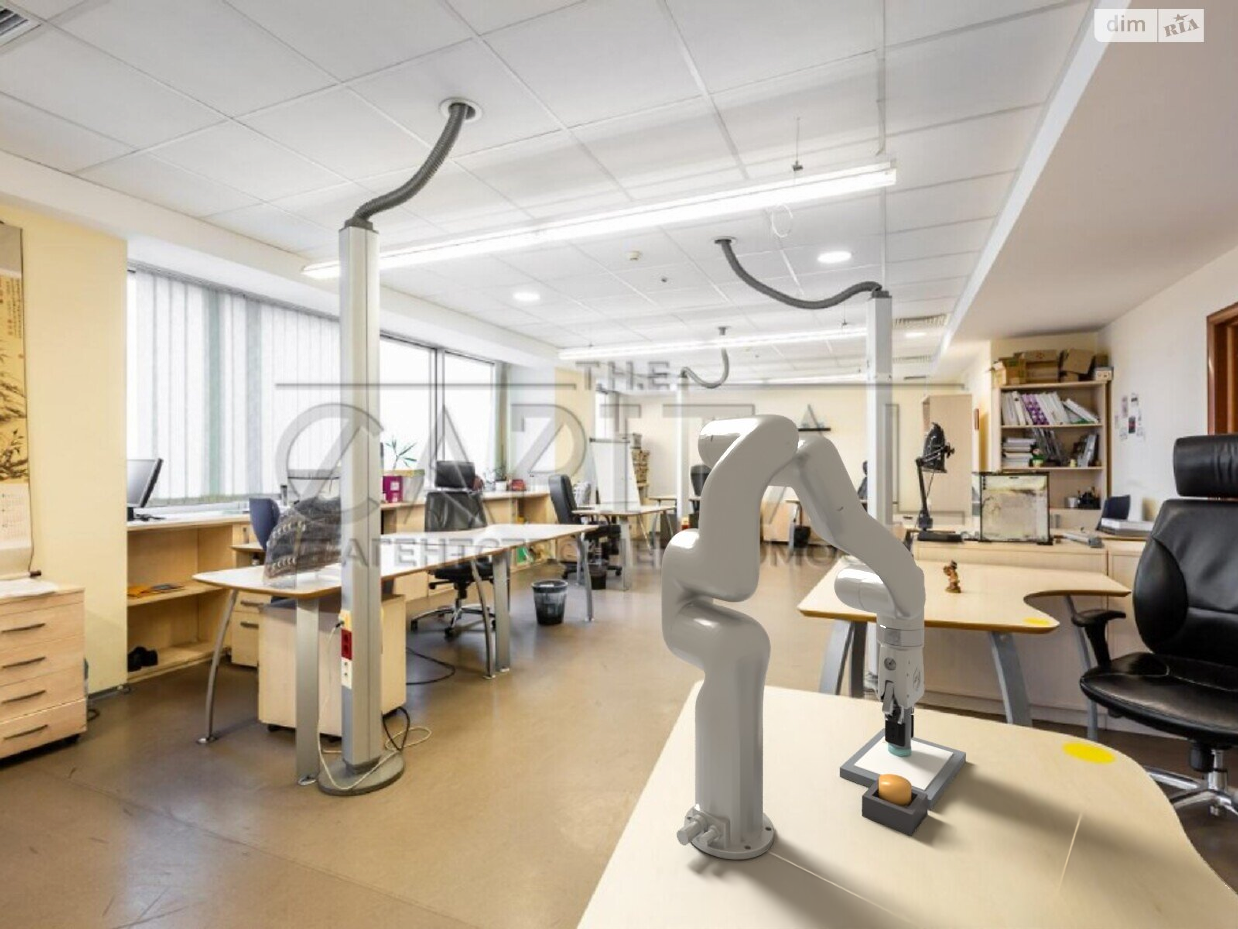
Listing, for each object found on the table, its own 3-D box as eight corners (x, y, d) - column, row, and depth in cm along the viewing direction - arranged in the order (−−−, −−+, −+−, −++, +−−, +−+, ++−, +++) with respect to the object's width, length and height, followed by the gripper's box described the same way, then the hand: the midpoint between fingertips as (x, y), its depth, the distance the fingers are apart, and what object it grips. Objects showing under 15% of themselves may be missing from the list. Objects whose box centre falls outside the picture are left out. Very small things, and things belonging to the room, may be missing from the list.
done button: (905, 810, 86) (905, 793, 86) (874, 798, 90) (874, 782, 89) (915, 797, 90) (915, 781, 90) (884, 786, 93) (885, 770, 93)
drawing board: (930, 810, 91) (930, 798, 91) (839, 776, 100) (839, 765, 100) (965, 761, 105) (965, 750, 105) (883, 735, 115) (883, 726, 115)
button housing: (911, 836, 85) (912, 815, 85) (861, 815, 89) (862, 795, 89) (927, 814, 90) (927, 794, 90) (879, 796, 95) (879, 777, 95)
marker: (907, 759, 103) (907, 694, 102) (884, 751, 105) (884, 689, 105) (914, 751, 105) (915, 688, 105) (892, 744, 108) (892, 683, 108)
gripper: (906, 651, 96) (905, 765, 97) (937, 629, 108) (937, 730, 109) (859, 641, 102) (859, 749, 102) (894, 621, 114) (893, 718, 114)
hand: (899, 738), depth 105 cm, fingers closed on marker, 3 cm apart
